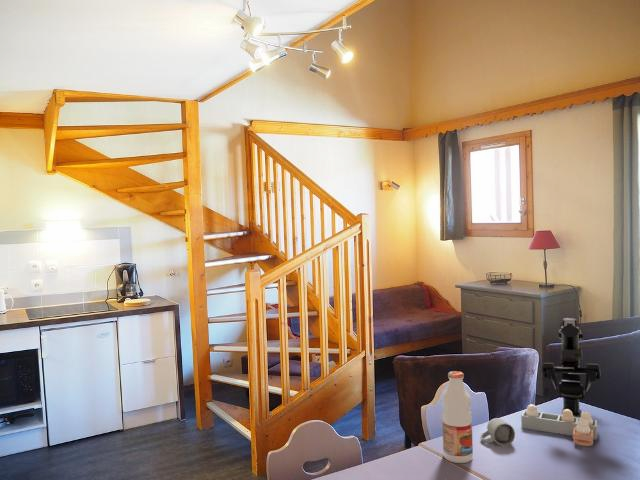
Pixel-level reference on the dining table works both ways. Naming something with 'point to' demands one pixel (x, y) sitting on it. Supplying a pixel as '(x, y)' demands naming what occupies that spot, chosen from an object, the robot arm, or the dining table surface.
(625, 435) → the dining table surface
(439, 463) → the dining table surface
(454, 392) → the fruit juice
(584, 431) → the egg
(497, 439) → the ceramic mug
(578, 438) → the egg cup
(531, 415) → the egg carton
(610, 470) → the dining table surface
